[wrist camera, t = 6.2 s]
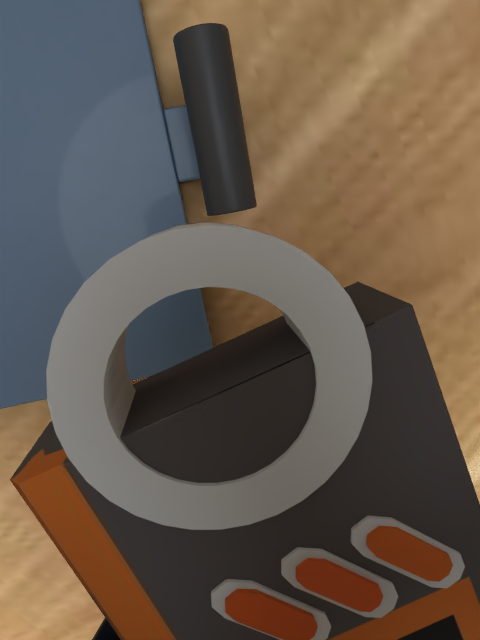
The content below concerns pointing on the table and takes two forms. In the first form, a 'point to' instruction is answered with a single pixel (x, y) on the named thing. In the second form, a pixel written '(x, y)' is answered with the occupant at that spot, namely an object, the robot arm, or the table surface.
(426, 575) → the electronic device
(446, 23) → the table surface
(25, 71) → the board
